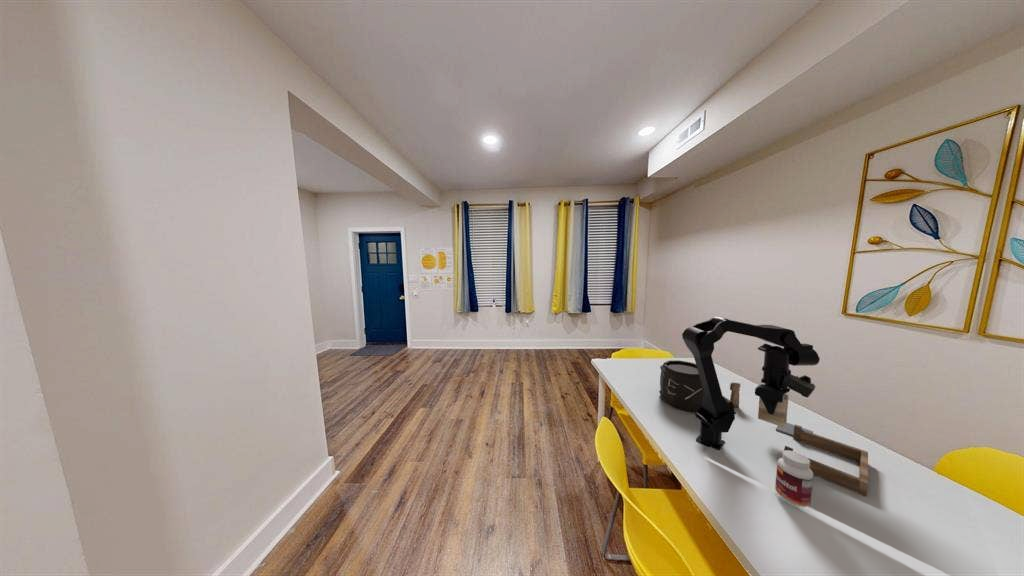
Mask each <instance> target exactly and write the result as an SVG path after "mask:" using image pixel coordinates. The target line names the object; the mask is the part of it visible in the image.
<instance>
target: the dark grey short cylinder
mask: <svg viewBox="0 0 1024 576" xmlns="http://www.w3.org/2000/svg"><path fill="white" fill-rule="evenodd" d="M659 369H660V378H659V386H660V390H659V391H658V392H659V394H660V397H661V399H662V401H663V402H664V403H666V404H667V405H669V406H671V407H672V408H674V409H677V410H681V411H683V412H687V413H695V411H696V410H697V409H698V408H700V407H701V406H702V399H703V397H704V391H703V387H702V384H701V380H700V377H699V373H698V369H697V366H696V362H695V363H694V362H691V361H685V360H679V359H676V360H667V361H665V362H663V364H662V365H660V367H659Z"/></svg>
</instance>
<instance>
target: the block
mask: <svg viewBox="0 0 1024 576" xmlns="http://www.w3.org/2000/svg"><path fill="white" fill-rule="evenodd" d="M758 397H759V398H758V410H757V412H758V413H757V420H761V421H763V422H766V423H769V424H773V425H776V426H781V427H784V425H785V424H786V422H788V421H787V420H788V409H789V408H788V405H789V397H790V396H789V394H787V393H785V399H784V401H783V402H778V403H777V406H776V409H775V411H774V414H773V415H771V414H769V413H768V411H767V409H766V407H765V405H764V403H763V401H762V399H761V398H760V396H758Z"/></svg>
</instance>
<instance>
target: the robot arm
mask: <svg viewBox="0 0 1024 576" xmlns="http://www.w3.org/2000/svg"><path fill="white" fill-rule="evenodd" d="M727 332H730V333H734V334H739V335H743V336H747V337H753V338H756V339H760V340H762V341H765V342H767V343H764V344H762V345H760V346H758V347H757V350H759V351H761V352H764V357H763V366H761V371H762V378H761V381H760V383H761V384H759V385H757V386H756V387H755V389H754V395H755V396H757V397H759V396H760V398H761V399H762V401H763V403H764V405H765V407H766V409H767V411H768V413H769V414H771V415H773V414H774V411H775V409H776V406H777V403H778V402H783V401H784V399H785V394H787V393H789V392H790V390H792V391H794V392H795V393H798V394H800V395H801V396H803V397H805V398H809V397H810V396H811V395H812V393H813V392H814V391H815V389H816V387H817V386H816V385H815V384H814V383H812V378H811V377H810V376H807V375H801V376H798V375H793V374H792V370H791V369H790V365H791V366H794V367H795V366H797V367H798V366H799V367H800V366H806V367H807V366H809V367H810V366H817V365H818V364H819V363H820V358H821V357H819V353H818V352H817V351H816V350H815V349H814V346H813V345H812V344H809V343H801V342H800V340H799V339H798V338H797V335H796V333H795V330H793V329H790V328H785V327H781V326H778V325H774V324H773V325H772V324H751V323H746V322H743V321H742V322H741V321H737V320H732V319H729V318H725V317H721V316H714V317H711V318H709V319H708V320H705V321H702V322H699V323H696V324H694V325H692V326H689V327H687V328H685V330H684V331H683V332H682V334H681V336H682V339H683V342H684V343H685V345H686V347H687V349H688V350H689V352H690V353H691V354H692V356H693V358H694V359H693V360H694V362H695V364H696V366H697V369H698V373H699V377H700V380H701V384H702V387H703V391H704V397H703V399H702V406H701V407H700V408H698V409H697V410H696V411H695V412H694V415H695V417H696V418H697V419H698V420H699V421H700V430H699V435H698V436H697V437H696V438H695V441H696V442H698V443H699V444H702V445H704V446H707V447H710V448H713V449H715V450H717V451H720V450H721V449H722V447H723V446H724V445H725V444H726V441H725V440H723V439H722V438H723V436H722V435H723V433H728V432H729V431H730V429H731V426H732V425H733V423H734V421H735V419H736V416H735V415H737V412H736V411H735V407H734V405H733V402H732V401H730V399H729V398H727V397H726V396H724V395H723V393H722V388H721V385H720V381H719V378H718V374H717V371H716V368H715V364H714V363H715V362H714V360H713V357H712V355H713V352H714V351H715V343H717V342H719V341H720V340H721V339H722V338H723V336H724V334H726V333H727ZM768 343H770V344H768ZM771 344H773V345H771Z"/></svg>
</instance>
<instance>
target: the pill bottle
mask: <svg viewBox="0 0 1024 576" xmlns="http://www.w3.org/2000/svg"><path fill="white" fill-rule="evenodd" d="M781 456H782V457H780V458H779V459H778V460H777V463H776V464H777V465H776V473H775V474H776V475H775V484H774V486H775V489H774V490H775V491H776V493H777V495H779V497H781V498H782V499H783V500H785V501H786V502H788V503H789V504H791V505H792V504H793V505H794V506H797V507H802V508H806V507H809V506H810V505H811V502H812V493H813V483H814V475H813V472H812V470H811V469H810V468H809V467H810V460H809V459H810V458H809V457H806V455H803V454H801V453H800V452H797V451H794V450H793V451H789V450H785V451H784V450H783V451H782V455H781ZM808 458H809V459H808Z"/></svg>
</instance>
